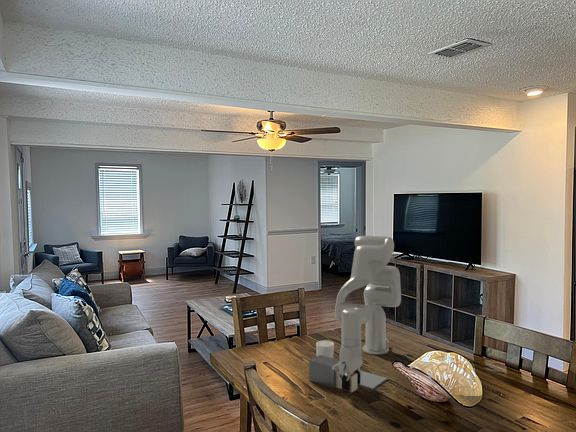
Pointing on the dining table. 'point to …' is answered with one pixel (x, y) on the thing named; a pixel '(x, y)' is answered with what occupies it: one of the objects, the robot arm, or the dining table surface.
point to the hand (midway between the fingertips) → (351, 386)
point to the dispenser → (323, 370)
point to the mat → (370, 380)
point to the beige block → (351, 378)
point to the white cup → (325, 348)
